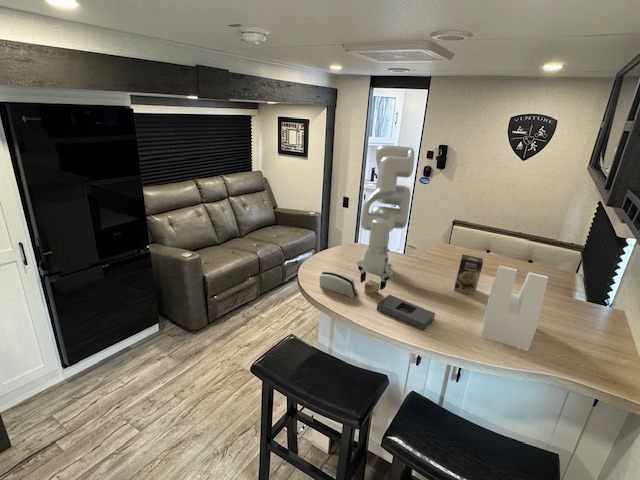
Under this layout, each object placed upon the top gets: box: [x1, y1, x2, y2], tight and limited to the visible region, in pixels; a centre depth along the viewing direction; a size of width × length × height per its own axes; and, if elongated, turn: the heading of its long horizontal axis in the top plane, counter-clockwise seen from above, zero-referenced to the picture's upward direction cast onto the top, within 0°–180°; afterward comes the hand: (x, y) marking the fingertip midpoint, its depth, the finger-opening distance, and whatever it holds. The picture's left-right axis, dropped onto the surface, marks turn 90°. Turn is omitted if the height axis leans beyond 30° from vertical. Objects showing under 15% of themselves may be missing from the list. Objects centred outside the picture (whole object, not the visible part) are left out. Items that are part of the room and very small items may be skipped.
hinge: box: [319, 270, 358, 298], centre depth 153 cm, size 17×5×10 cm, turn 60°
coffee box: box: [453, 253, 484, 296], centre depth 159 cm, size 9×6×16 cm
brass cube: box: [363, 279, 381, 297], centre depth 154 cm, size 4×4×4 cm
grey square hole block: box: [376, 294, 436, 332], centre depth 139 cm, size 10×20×3 cm, turn 51°
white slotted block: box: [480, 264, 549, 350], centre depth 129 cm, size 19×15×25 cm
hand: (372, 285), depth 152 cm, fingers open, 9 cm apart
